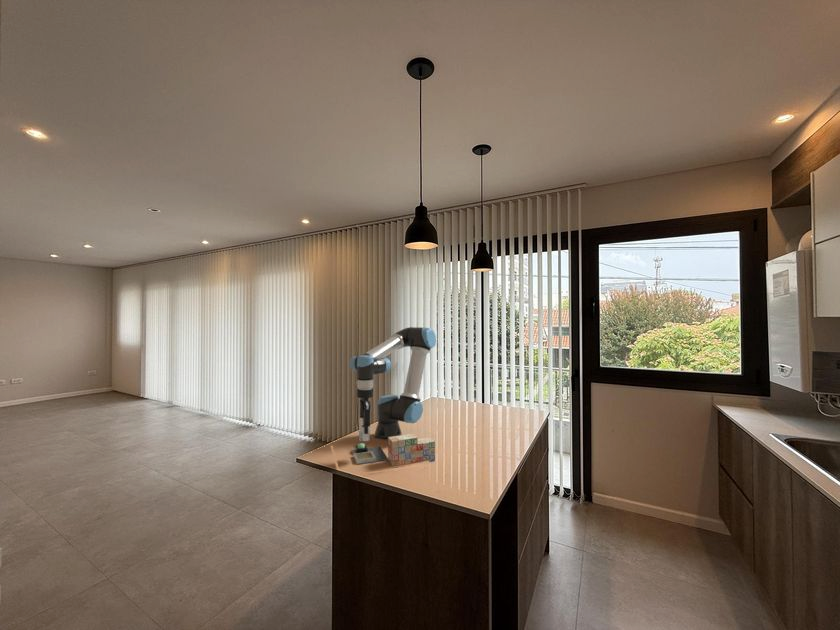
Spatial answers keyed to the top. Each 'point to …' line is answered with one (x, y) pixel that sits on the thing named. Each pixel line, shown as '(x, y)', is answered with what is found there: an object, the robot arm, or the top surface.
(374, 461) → the panel
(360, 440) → the cylinder
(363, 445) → the button
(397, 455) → the stack of blocks
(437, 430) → the top surface
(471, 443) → the top surface
